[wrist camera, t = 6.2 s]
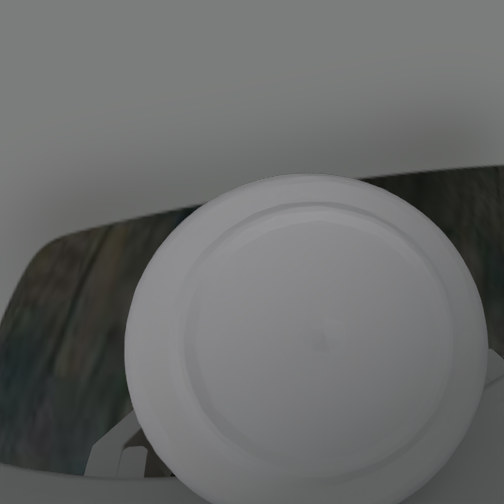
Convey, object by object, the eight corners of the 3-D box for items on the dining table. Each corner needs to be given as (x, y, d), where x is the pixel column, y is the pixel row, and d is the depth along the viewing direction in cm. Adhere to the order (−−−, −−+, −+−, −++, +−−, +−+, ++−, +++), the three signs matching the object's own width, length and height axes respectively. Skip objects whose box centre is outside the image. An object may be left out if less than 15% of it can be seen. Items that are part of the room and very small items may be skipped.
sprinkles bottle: (216, 387, 15) (48, 313, 3) (281, 328, 17) (307, 114, 5) (278, 451, 14) (311, 602, 2) (344, 388, 15) (543, 312, 3)
